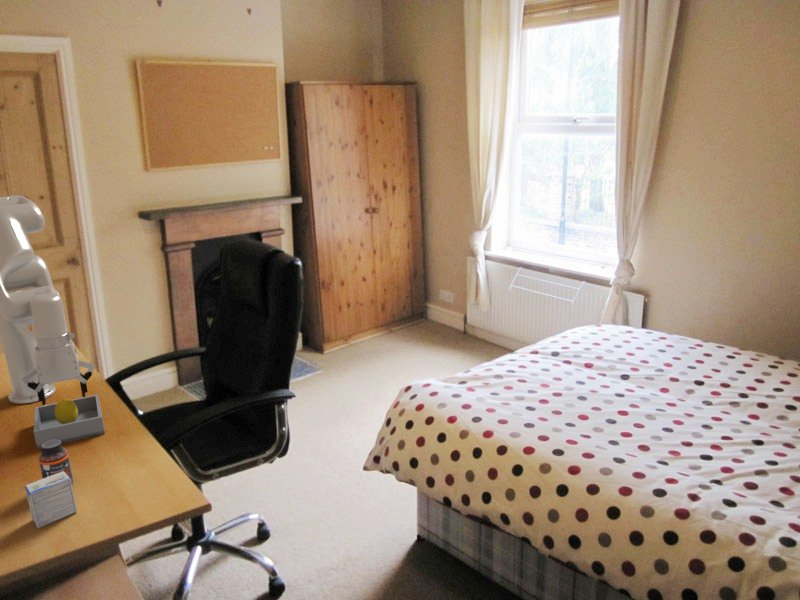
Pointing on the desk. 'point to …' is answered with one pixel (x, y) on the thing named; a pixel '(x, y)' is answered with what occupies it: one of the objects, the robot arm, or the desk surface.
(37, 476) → the desk surface
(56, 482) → the medicine box
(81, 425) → the tote
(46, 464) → the supplement bottle
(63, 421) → the lemon
